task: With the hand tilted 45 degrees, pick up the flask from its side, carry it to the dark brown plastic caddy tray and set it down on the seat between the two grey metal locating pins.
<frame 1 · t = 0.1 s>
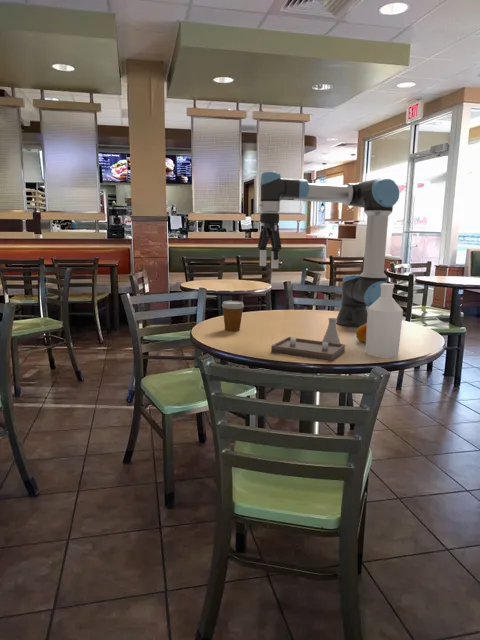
hand: (268, 267, 188), 28 cm above the table, tool pointing down, fingers open, 13 cm apart
bottle: (381, 354, 168), on the table
flask: (330, 344, 180), on the table
fruit: (366, 343, 184), on the table
caddy tray: (308, 351, 167), on the table
disposable coffee cup: (232, 330, 201), on the table
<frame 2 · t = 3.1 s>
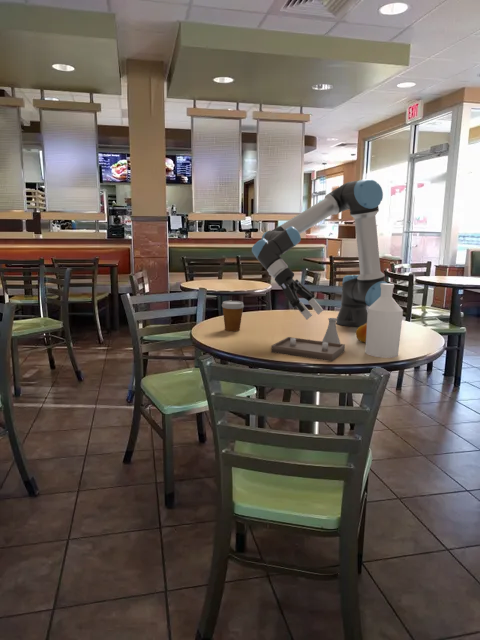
hand: (315, 314, 180), 11 cm above the table, tool tilted 45°, fingers open, 13 cm apart
nothing on the table moved.
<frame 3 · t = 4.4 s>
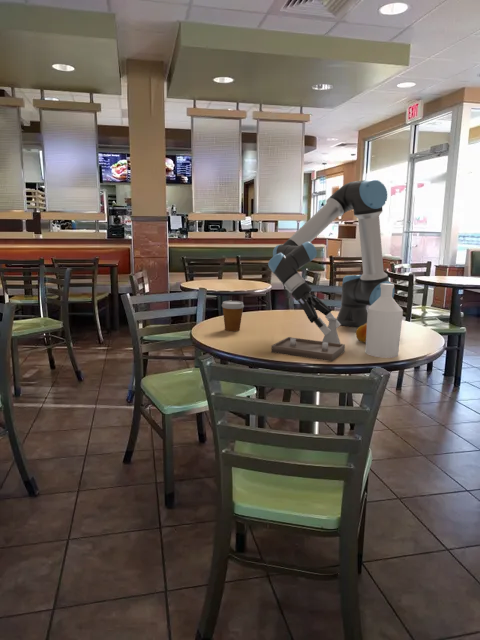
hand: (333, 330, 178), 6 cm above the table, tool tilted 45°, fingers open, 13 cm apart
nothing on the table moved.
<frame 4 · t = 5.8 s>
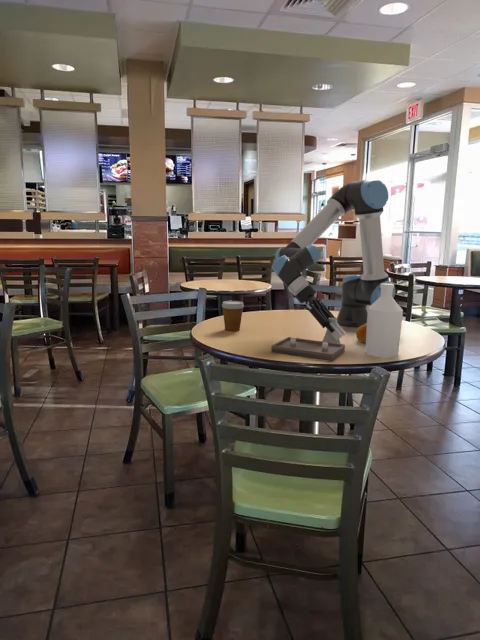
hand: (341, 336, 178), 3 cm above the table, tool tilted 45°, fingers closed on flask, 4 cm apart
flask: (330, 344, 180), on the table, touching gripper
everything else where it was.
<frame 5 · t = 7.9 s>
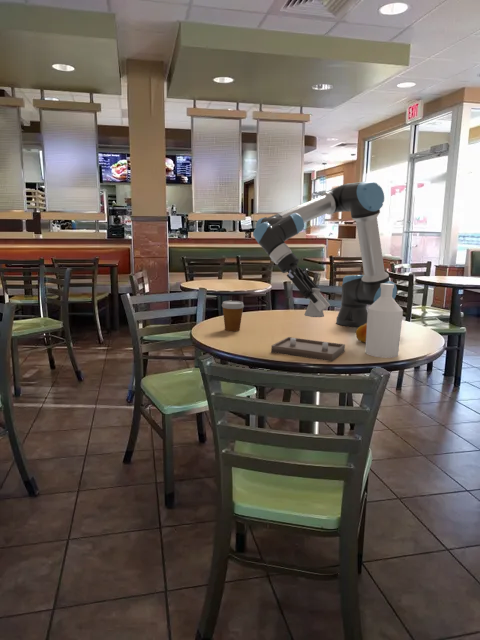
hand: (325, 308, 166), 16 cm above the table, tool tilted 45°, fingers closed on flask, 4 cm apart
flask: (314, 316, 169), point 12 cm above the table, touching gripper
everything else where it was.
when the fingers open (6 cm above the table, at t = 10.0 s): flask drops 1 cm, resting on caddy tray.
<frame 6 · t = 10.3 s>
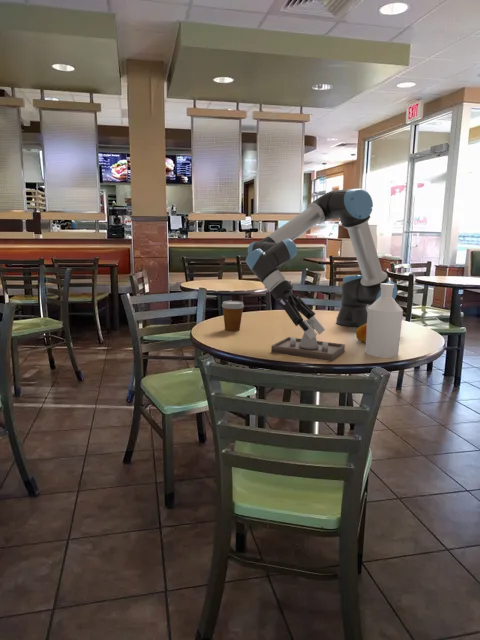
hand: (318, 334, 165), 7 cm above the table, tool tilted 45°, fingers open, 9 cm apart
flask: (308, 347, 167), point 1 cm above the table, touching caddy tray
everything else where it was.
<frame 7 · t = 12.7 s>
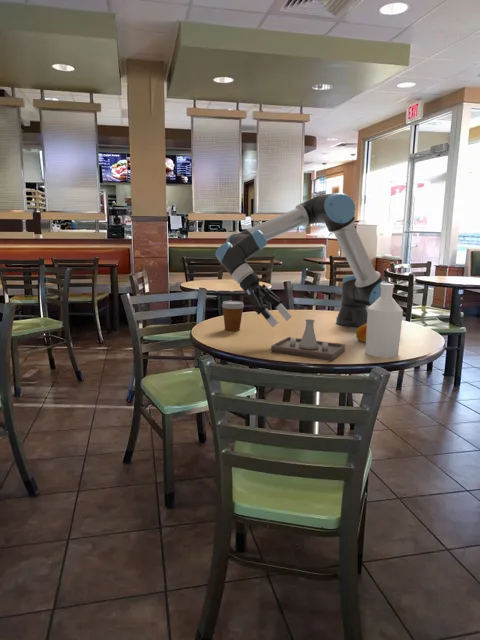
hand: (282, 321, 171), 10 cm above the table, tool tilted 45°, fingers open, 13 cm apart
nothing on the table moved.
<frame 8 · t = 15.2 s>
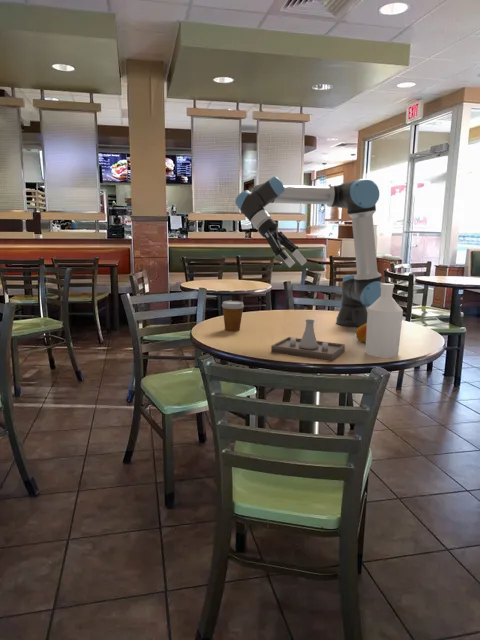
hand: (298, 264, 181), 30 cm above the table, tool tilted 45°, fingers open, 13 cm apart
nothing on the table moved.
at the end: flask inside the target area on the caddy tray (0.2 cm from its centre), point 1.3 cm above the caddy tray's base; flask tilted 0°; the gripper is holding nothing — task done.
